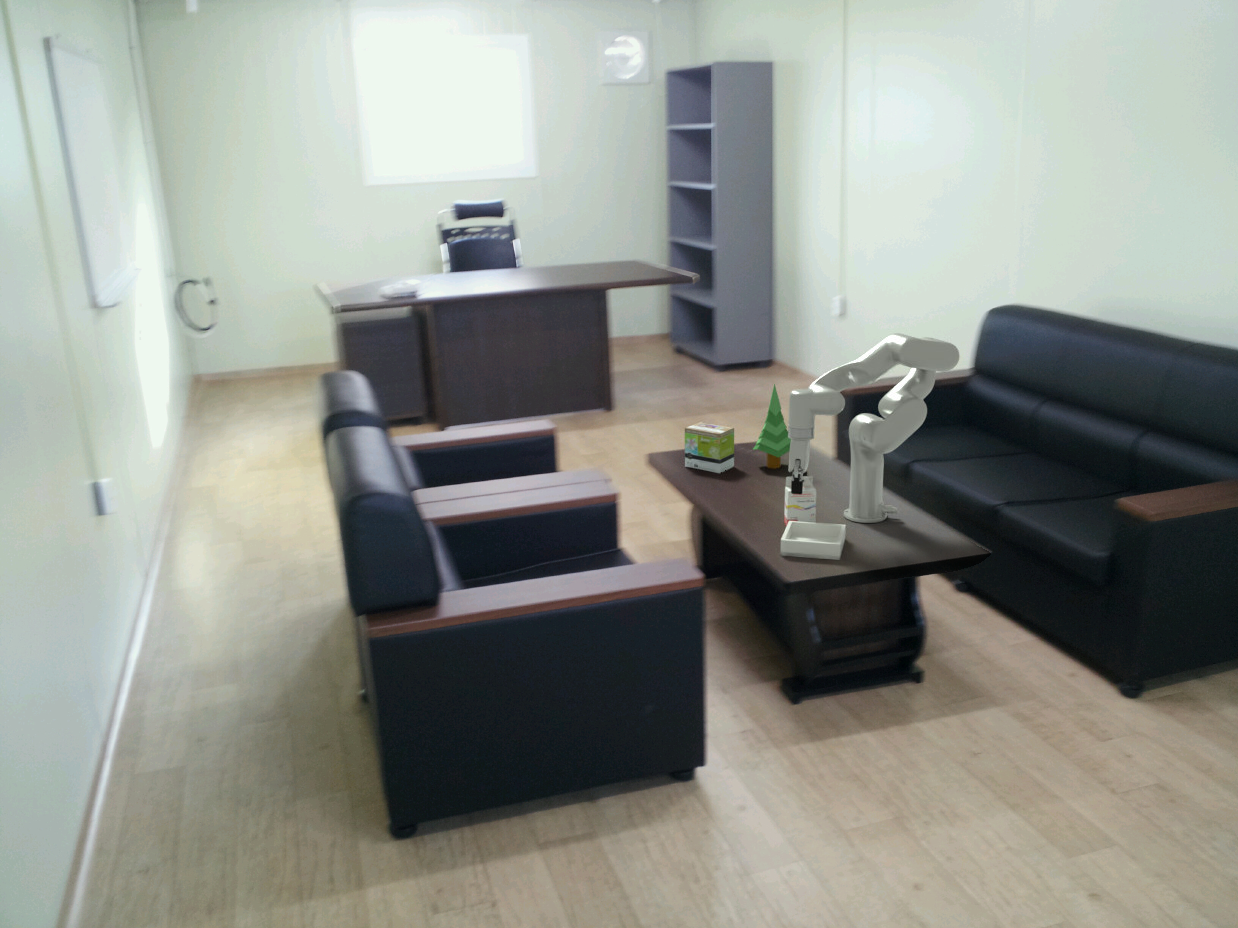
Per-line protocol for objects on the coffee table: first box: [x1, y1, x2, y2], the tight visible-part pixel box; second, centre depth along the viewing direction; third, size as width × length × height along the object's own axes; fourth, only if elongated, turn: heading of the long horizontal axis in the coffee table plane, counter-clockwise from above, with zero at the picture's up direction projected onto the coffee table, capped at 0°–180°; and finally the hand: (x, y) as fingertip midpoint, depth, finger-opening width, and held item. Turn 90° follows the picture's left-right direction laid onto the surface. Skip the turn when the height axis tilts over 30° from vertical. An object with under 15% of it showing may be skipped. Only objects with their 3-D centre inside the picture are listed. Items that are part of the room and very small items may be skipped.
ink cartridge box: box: [783, 475, 817, 528], centre depth 305 cm, size 9×5×15 cm, turn 92°
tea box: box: [684, 421, 735, 474], centre depth 366 cm, size 15×10×15 cm
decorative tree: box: [752, 383, 791, 469], centre depth 362 cm, size 14×16×30 cm
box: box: [780, 521, 847, 561], centre depth 289 cm, size 16×16×4 cm
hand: (798, 488), depth 304 cm, fingers open, 9 cm apart
